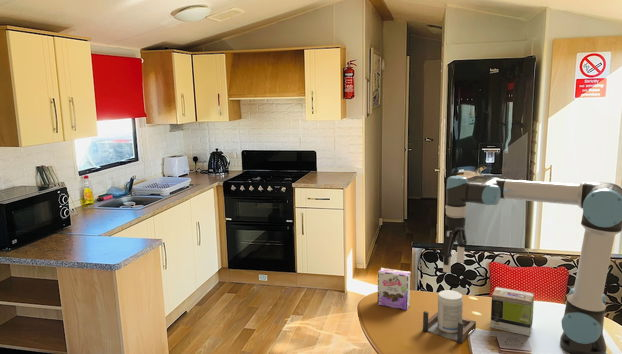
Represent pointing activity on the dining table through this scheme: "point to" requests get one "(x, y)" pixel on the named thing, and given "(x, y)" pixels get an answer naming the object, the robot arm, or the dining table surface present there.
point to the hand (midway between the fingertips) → (453, 267)
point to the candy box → (394, 288)
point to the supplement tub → (449, 310)
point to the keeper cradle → (433, 328)
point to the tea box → (512, 310)
